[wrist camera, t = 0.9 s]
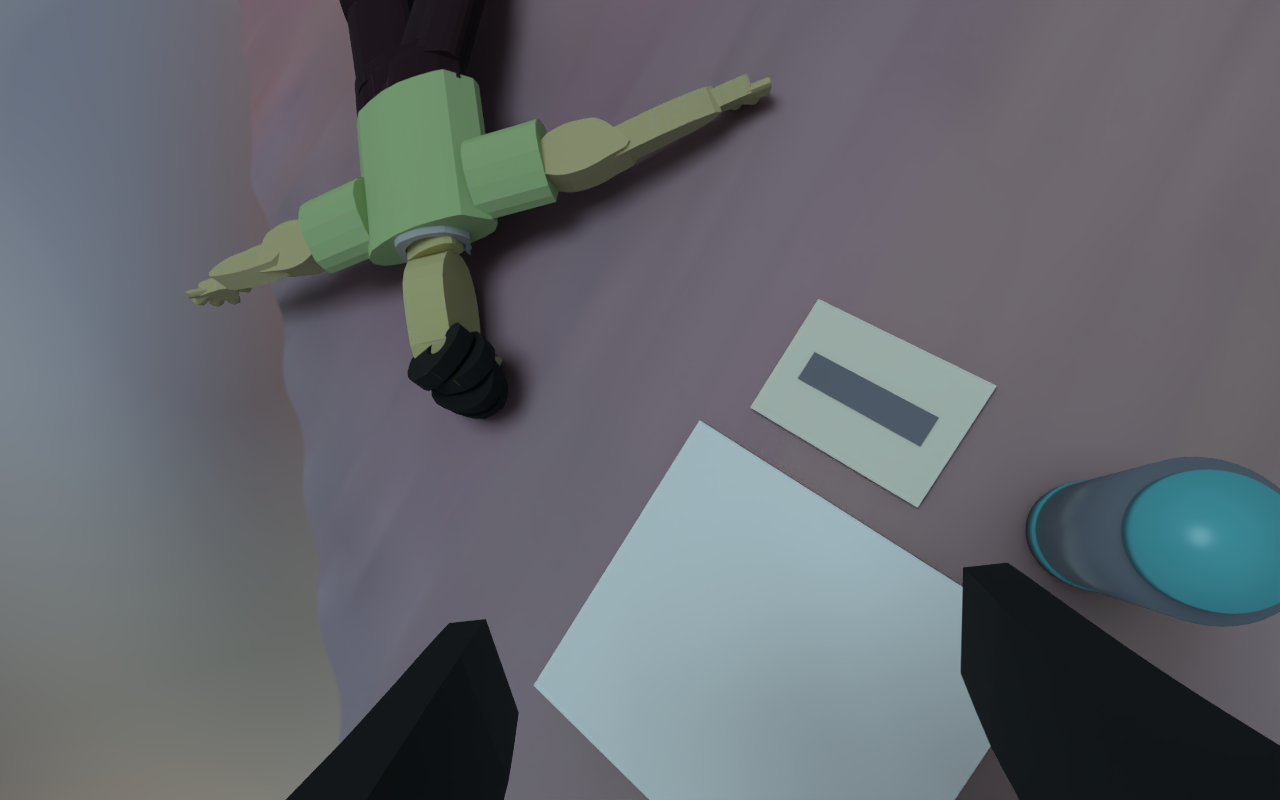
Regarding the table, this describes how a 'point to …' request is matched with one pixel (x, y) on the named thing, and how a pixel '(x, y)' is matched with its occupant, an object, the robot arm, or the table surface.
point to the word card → (872, 401)
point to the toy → (446, 185)
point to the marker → (1168, 539)
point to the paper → (767, 648)
